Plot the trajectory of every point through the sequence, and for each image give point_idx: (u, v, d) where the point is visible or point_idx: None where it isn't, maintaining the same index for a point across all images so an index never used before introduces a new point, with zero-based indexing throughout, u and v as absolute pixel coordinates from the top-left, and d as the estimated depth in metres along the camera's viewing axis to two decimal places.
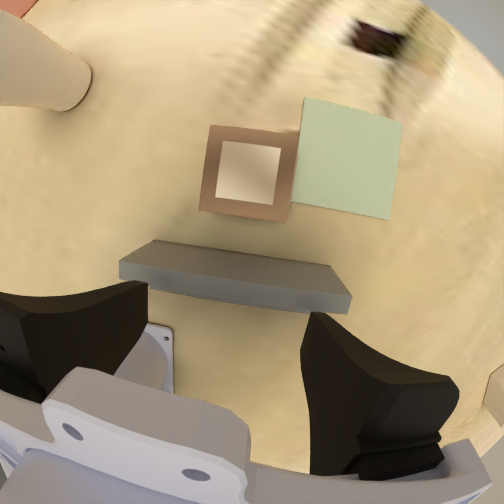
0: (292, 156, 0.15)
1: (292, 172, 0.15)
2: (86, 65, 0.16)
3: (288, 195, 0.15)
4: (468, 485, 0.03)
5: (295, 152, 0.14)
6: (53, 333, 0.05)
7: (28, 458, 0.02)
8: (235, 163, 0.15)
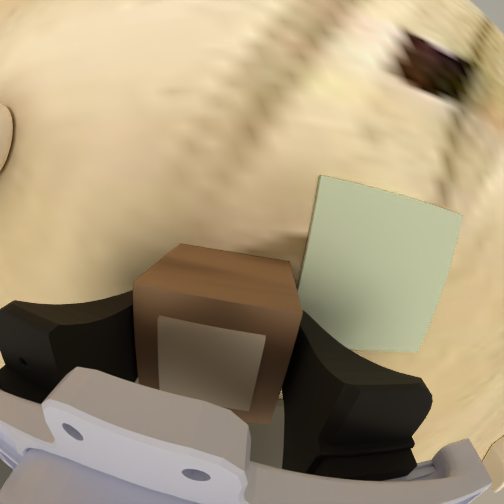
0: (286, 347, 0.08)
1: (284, 370, 0.08)
2: (4, 115, 0.10)
3: (275, 398, 0.08)
4: (468, 485, 0.03)
5: (293, 341, 0.08)
6: (81, 345, 0.05)
7: (28, 458, 0.02)
8: (183, 357, 0.08)
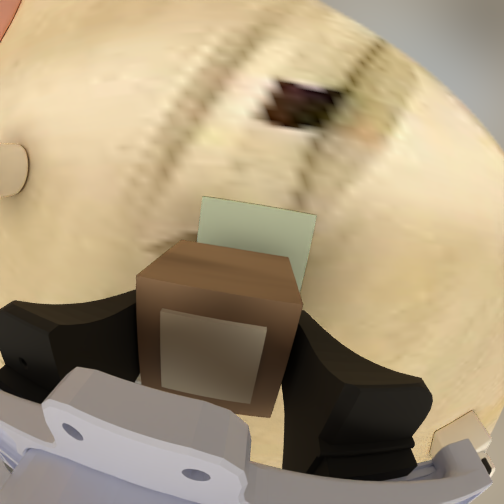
0: (287, 339, 0.08)
1: (285, 362, 0.08)
2: (21, 154, 0.17)
3: (276, 391, 0.09)
4: (468, 485, 0.03)
5: (293, 332, 0.08)
6: (81, 344, 0.05)
7: (28, 458, 0.02)
8: (185, 349, 0.08)
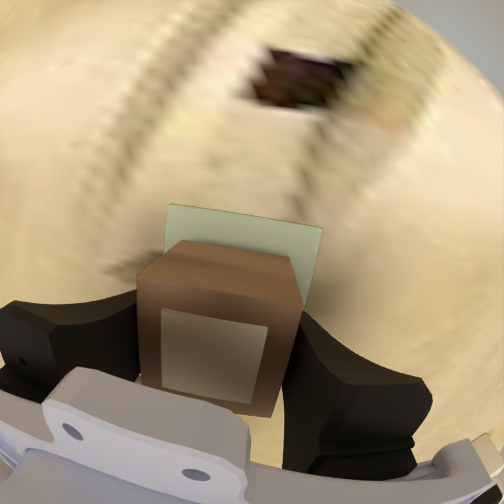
0: (288, 339, 0.08)
1: (286, 362, 0.08)
2: None
3: (276, 390, 0.09)
4: (468, 485, 0.03)
5: (294, 332, 0.08)
6: (81, 344, 0.05)
7: (28, 458, 0.02)
8: (186, 349, 0.08)
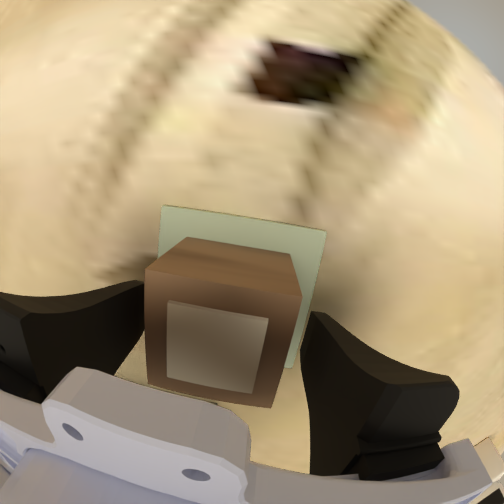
0: (288, 330, 0.09)
1: (285, 352, 0.09)
2: None
3: (277, 381, 0.09)
4: (468, 485, 0.03)
5: (293, 324, 0.09)
6: (53, 333, 0.05)
7: (28, 458, 0.02)
8: (191, 340, 0.09)
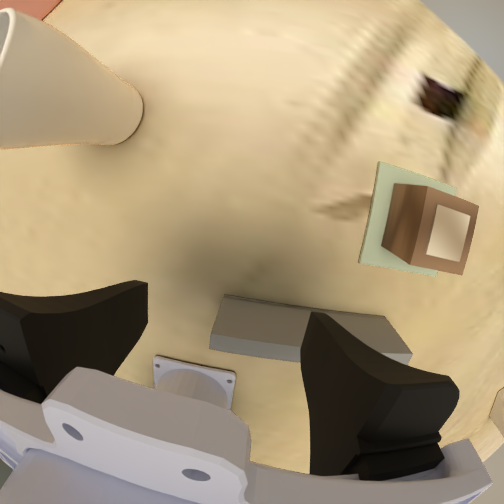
0: (473, 222, 0.14)
1: (472, 235, 0.14)
2: (137, 93, 0.17)
3: (467, 253, 0.15)
4: (468, 485, 0.03)
5: (475, 219, 0.14)
6: (53, 333, 0.05)
7: (28, 458, 0.02)
8: (443, 226, 0.14)
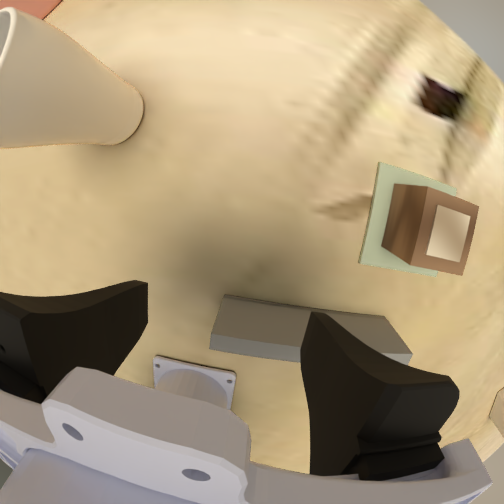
0: (474, 223, 0.14)
1: (472, 236, 0.14)
2: (138, 93, 0.17)
3: (467, 254, 0.15)
4: (468, 485, 0.03)
5: (475, 219, 0.14)
6: (53, 333, 0.05)
7: (28, 458, 0.02)
8: (443, 226, 0.14)
